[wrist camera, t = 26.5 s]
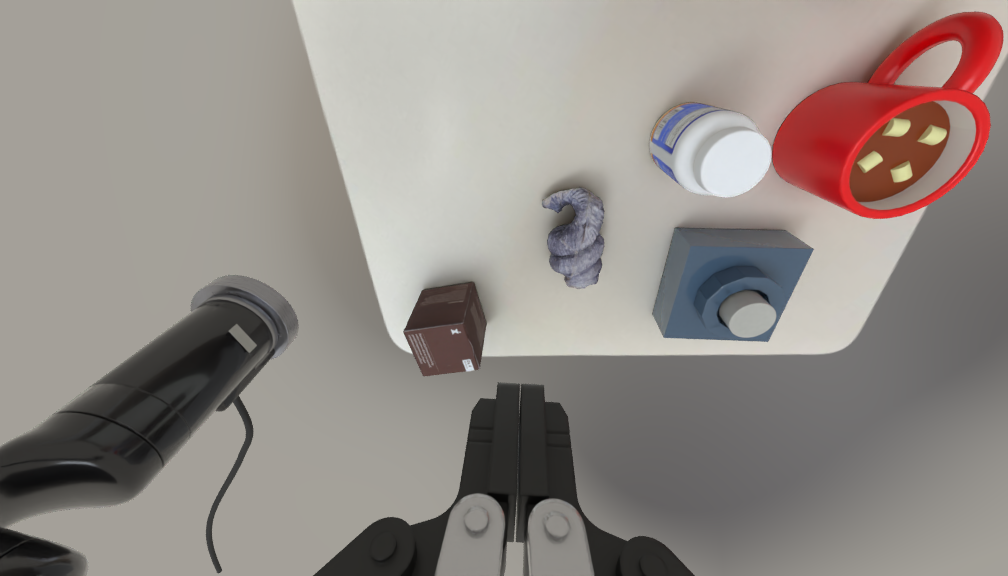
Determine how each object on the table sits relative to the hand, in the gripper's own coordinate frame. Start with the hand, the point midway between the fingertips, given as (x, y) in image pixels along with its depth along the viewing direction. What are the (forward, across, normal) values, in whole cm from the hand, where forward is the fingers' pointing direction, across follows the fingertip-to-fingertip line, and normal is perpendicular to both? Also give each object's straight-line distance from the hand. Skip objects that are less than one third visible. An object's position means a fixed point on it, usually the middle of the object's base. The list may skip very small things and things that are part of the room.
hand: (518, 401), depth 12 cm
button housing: (+25, -19, +8) cm, 32 cm away
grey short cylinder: (+19, -19, +8) cm, 28 cm away
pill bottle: (+25, -13, -5) cm, 28 cm away
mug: (+25, -25, -7) cm, 36 cm away
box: (+25, +7, +14) cm, 29 cm away
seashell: (+25, -5, +4) cm, 26 cm away
